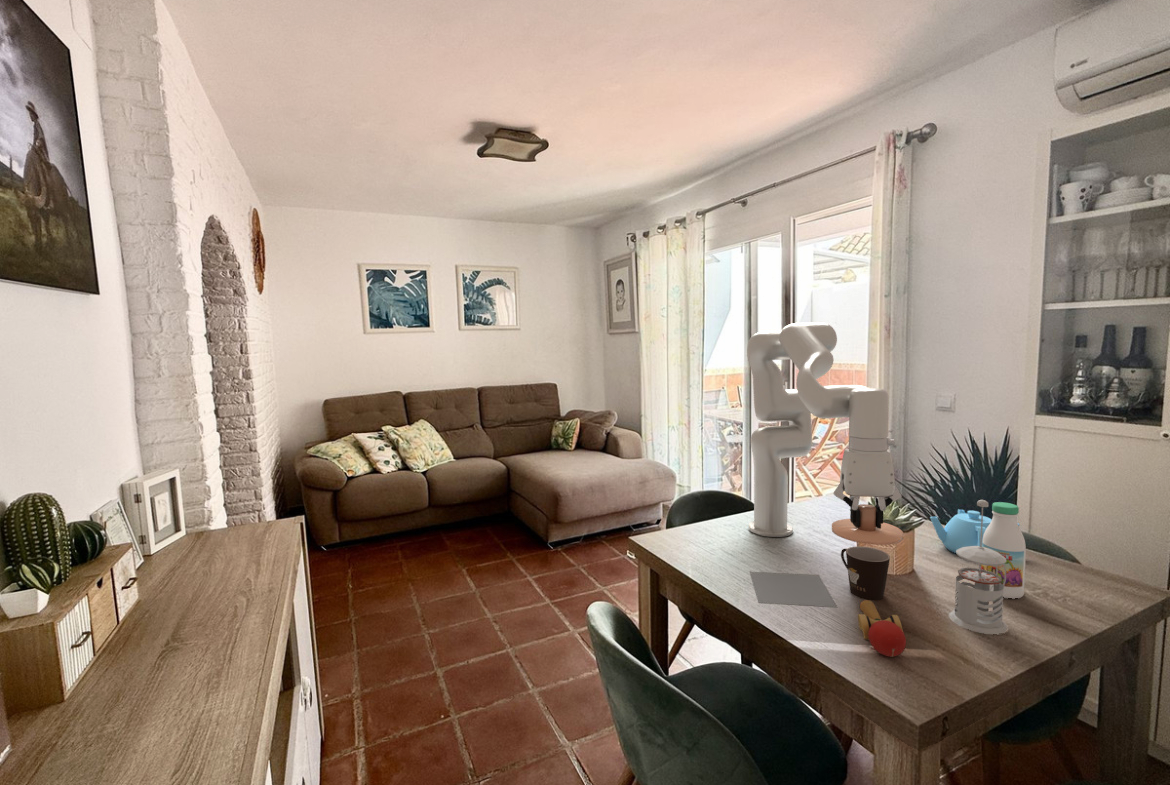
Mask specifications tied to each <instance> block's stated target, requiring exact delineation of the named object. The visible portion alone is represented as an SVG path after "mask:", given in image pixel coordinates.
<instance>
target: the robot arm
mask: <svg viewBox="0 0 1170 785" xmlns="http://www.w3.org/2000/svg"><path fill="white" fill-rule="evenodd" d="M837 343H838V336H837V332H836V330H835V328H834V327H832V325H831V324H829V323H826V322H820V321H819V322H795V323H790V324H788V325H786V326H784V327H783V328H782V329H781V330H780V329H777V330H774V329H773V330H763V331H760V332H756V333H754V334H753V335H751V337H750V338H749V339H748V343H747V348H746V353H747V354H746V356H747V361H748V364H749V367H750V371H751V374H752V384H753V385H752V388H753V404H754V407H753V408H754V413H755V416H756V418H757V420H759V421H761V422H767V423H774V422H788V425H773V426H771V425H770V426H764V427H763V426H762V427H759V428H757V429H755V430H754V431H753V432H752V434H751V436H750V446H751V447H750V448H751V453H752V458H753V480H754V483H753V498H754V499H753V501H754V502H753V508H754V509H753V521H751V522H749V523H748V530H749V531H750V532H752V533H753V534H755V535H759V536H761V537H762V536H763V537H769V538H782V537H787V536H790V535H792V534H793V533H794V531H793V530H794V529H793V526H792V525H790V524H789V523H788V503H789V502H788V499H789V498H788V493H789V492H788V490H789V489H788V488H789V487H788V486H789V485H788V481H789V480H788V479H789V478H788V472H787V469H786V467H785V466H784V465H783V464H782V462H781V459H785V458H786V459H789V458H790V459H791V458H801V457H805V456H807V455H808V454H810V452H811V450H812V446H813V444H812V443H813V435H812V433H813V430H812V415H813V416H814V417H816V418H819V419H837V418H838V419H839V418H841V419H842V418H848V448H844V451H843V454H842V460H841V466H840V475H839V483H838V485H837V487H836V488H835V490H833V495H834V496H835V497H836V498H837V499H840V500H841V501H843V502H844V503H845V504H847V506H848V507H849V509H850V510H849V512H850V513H849V514H850V517H849V519H850V521H851V523H853V525H854V526H855V527H856V528H859V527H860V510H859V507H858V505H860V499H861V498H860V497H863V498H864V497H869V498H870V497H871V498H874V503H875V505H874V506H875V507H876V527H877V528H878V529H881V524H883V523H884V512H885V511H887V510H886V509H887V507H889V506H890V505H891V504H892V503H893V502H895V501H897V500H899V499H901V498H902V494H901V493H900V491H899V489H898V488H897V486H896V484H895V470H894V469H895V468H894V464H893V456H892V454H891V453H892V452H891V451H890V450H889V447H891V446H895V444H896V441H895V439H891V438H890V437H889V393H888V391H887V390H886V389H884V388H878V387H868V386H865V385H861V384H837V385H836V384H834V385H822V384H821V383H820V382H818V379H820V378H821V377H823V376H825V375H826V374H827V373H829V371H830V370H831V368H832V367H833V365H834V356H833V353H832V351H833V350H835V348H836V345H837ZM778 360H780V361H781V360H783V361H784V360H785V361H786V360H791V361H792V363H793V364H794V365H795V367H796V368H797V370H799V371H798V373H797V376H796V388H795V389H794V388H790V389H787V388H786V389H785V388H784V376H783V372H782V369H780V367H779V366H778V365H777V363H775V361H778ZM844 492H845V494H846V495H845V494H844ZM848 496H849V497H848Z"/></svg>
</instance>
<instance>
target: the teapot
mask: <svg viewBox="0 0 1170 785" xmlns="http://www.w3.org/2000/svg"><path fill="white" fill-rule="evenodd" d="M965 511H966V510H964V509H959V508H958V509H957V514H955V515H953V517H952V518H950V519H949V521H947V523H946V525H945V526H944V527H943V525H942V523H941V522H940V520H939V517H938V516H930V517H929V520H930V521H931V523H932V525H933V528H934V530H935V532H936V535H937V537H938V539H939V540H940V542H941V543H942V545H944V546H945V548H946V549H947V550H948V551H949V552H951V553H953V552H954V553H953V554H955V553H956V550H958V549H960V548H962V547H968V546H980V540H981V516H982V514H981V512H980V511H977V510H967V512H965ZM991 521H992V518H990V517H988V516H985V515H983V524H982V541H983V535H984V532H985V530H986V529H987V527H988V526H989V524H990V523H991ZM1017 523H1018V526H1019V527H1020V526H1021V525H1020V523H1019V522H1017ZM956 555H957V553H956Z"/></svg>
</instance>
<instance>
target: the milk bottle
mask: <svg viewBox="0 0 1170 785" xmlns="http://www.w3.org/2000/svg"><path fill="white" fill-rule="evenodd" d="M991 510H992V511H991V513H992V518H991V520H992V521H991V523H990V524H989V526H988V527H987V529H986V530H985V532H984V535H983V541H982V547H985V548H989V549H992V550H994V551H996V552H998V553H999V554H1001V555H1002V556H1003V557H1005V558H1006V563H1005V564H1004V565H1005V568H1006V582H1005V585H1004V593H1003V597H1004V598H1003V599H1008V598H1012V599H1011V600H1015V598H1018V599H1021V598H1022V597H1023V596H1024V593H1025V577H1026V576H1025V575H1026V557H1027V555H1026V554H1027V553H1026V552H1027V551H1026V549H1027V548H1026V541H1025V537H1024V534H1023V532H1022V531H1021V529H1020V526H1018V523H1019V522H1018V517H1019V513H1020V512H1019V510H1020V508H1019V506H1018V505H1016V504H1013V503H1009V502H1002V501H998V502H992V504H991ZM997 568H998V574H997V575H999V576H1000V577H1001V578H1002V582H1001V584H1002V585H1003V583H1004V578H1005V569H1004V566H1003V565H999V566H997ZM982 569H983V570H987V571H989V572H990V571H991V572H992V573H994V574H996V567H994V566H988V565H981V570H982ZM992 586H993V585H990V588H991V587H992ZM991 591H994V587H993V588H992V589H991Z"/></svg>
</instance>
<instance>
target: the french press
mask: <svg viewBox="0 0 1170 785" xmlns="http://www.w3.org/2000/svg"><path fill="white" fill-rule="evenodd" d="M976 506H977V507H981V540H980V546H968V547H962V548H960V549H958V550H956V553H957V554H956V555H957V556H958V557H959V558H960V559H962V560H964V561H966V562H969V563H973V564H977V565H979V568H977V567H969V566H968V567H962V568H960V569H958V570H957V573H958V575H956V576H955V593H954V594H955V595H954V609H953V610H951V611H950V612H948V618H949V619H950V620H951V621H952V622H953V623H955V625H957V626H959V627H961V628H963V629H966V630H968V629H969V631H970V632H971V631H972V632H975V633H978V634H979V633H980V634H983V633H984V635H993V634H997V635H1000V634H999V633H1004V632H1005V631H1006V630H1007V629H1008V630H1009V627H1008V628H1007V626H1008V624H1007V623H1005V621H1003V617H1004V616H1003V614H1004V613H1003V612H1004V610H1003V607H1004V602H1003V601H1004V598H1003V593H1004V585H1005V582H1006V568H1005V565H1004V564H1005V563H1006V558H1005V557H1003V556H1002V555H1001V554H999V553H998V552H996V551H994V550H992V549H989V548H985V547H982V524H983V516H984V508H989V502H988V501H987V500H984V499H980V500H978V501H977V502H976ZM981 565H988V566H994V567H996V574H994V573H992V572H991V571H990V572H989V571H987V570H983V569H982V570H981ZM999 565H1003V566H1004V569H1005V578H1004V583H1003V585H1002V584H1001V582H1002V578H1001V577H1000V576H999V575H997V574H998V568H997V566H999ZM963 580H966V581H963ZM960 581H963V582H960ZM967 581H970V582H967ZM971 582H973V583H974V584H973V583H971ZM990 585H993V586H992V587H991V588H990ZM993 587H994V591H991V589H992V588H993ZM990 602H992V604H990ZM989 609H992V610H989ZM1004 634H1005V633H1004Z"/></svg>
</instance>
